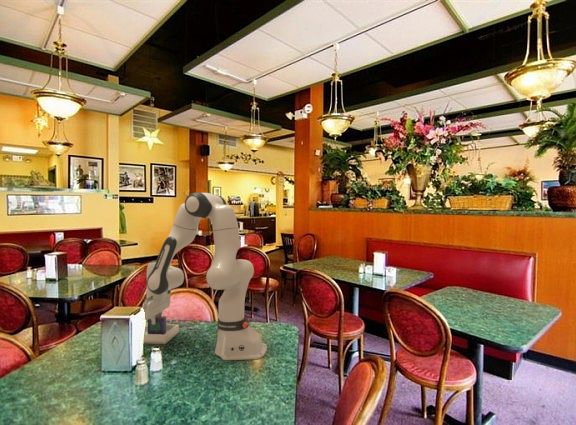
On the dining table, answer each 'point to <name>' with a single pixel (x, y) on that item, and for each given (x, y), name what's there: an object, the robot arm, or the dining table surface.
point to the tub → (161, 339)
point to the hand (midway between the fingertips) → (156, 322)
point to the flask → (157, 325)
